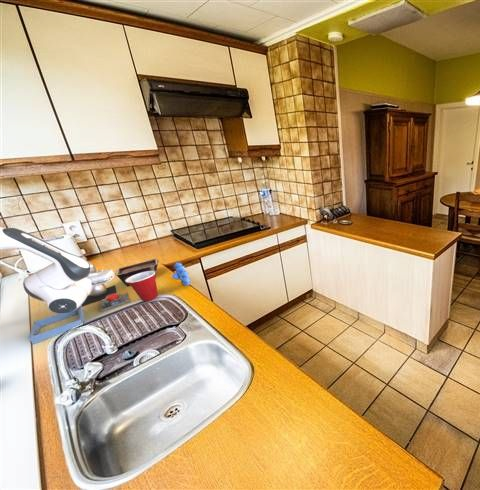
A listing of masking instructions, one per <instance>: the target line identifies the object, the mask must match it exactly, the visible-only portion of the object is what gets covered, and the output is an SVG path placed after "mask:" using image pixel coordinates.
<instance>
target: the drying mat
mask: <svg viewBox="0 0 480 490" xmlns="http://www.w3.org/2000/svg"><path fill="white" fill-rule="evenodd" d="M106 289H107V291H106V293H104V294H102V295H100V296H97V297H91V296H89V295H88V296H87V298H86V300H85V301H84V302H83V304H82V305H81V307H85V306H88V305H91V304H94V303H97V302H101V301H103V300H104V299H105V298H106V296H108V295H110V294H113V293H116V294H118V293H117V288H116V285H115V284H114V285H111V286H108V287H106Z"/></svg>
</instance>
